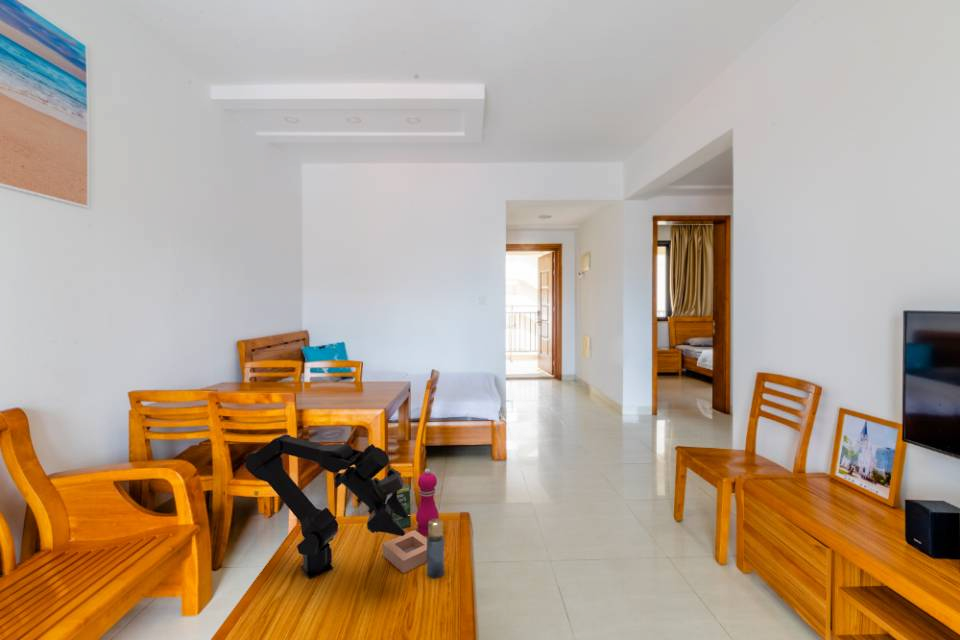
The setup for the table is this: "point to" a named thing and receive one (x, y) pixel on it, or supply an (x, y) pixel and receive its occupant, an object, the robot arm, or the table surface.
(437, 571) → the tube
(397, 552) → the socket block
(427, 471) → the pepper mill
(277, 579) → the table surface
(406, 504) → the coffee box
